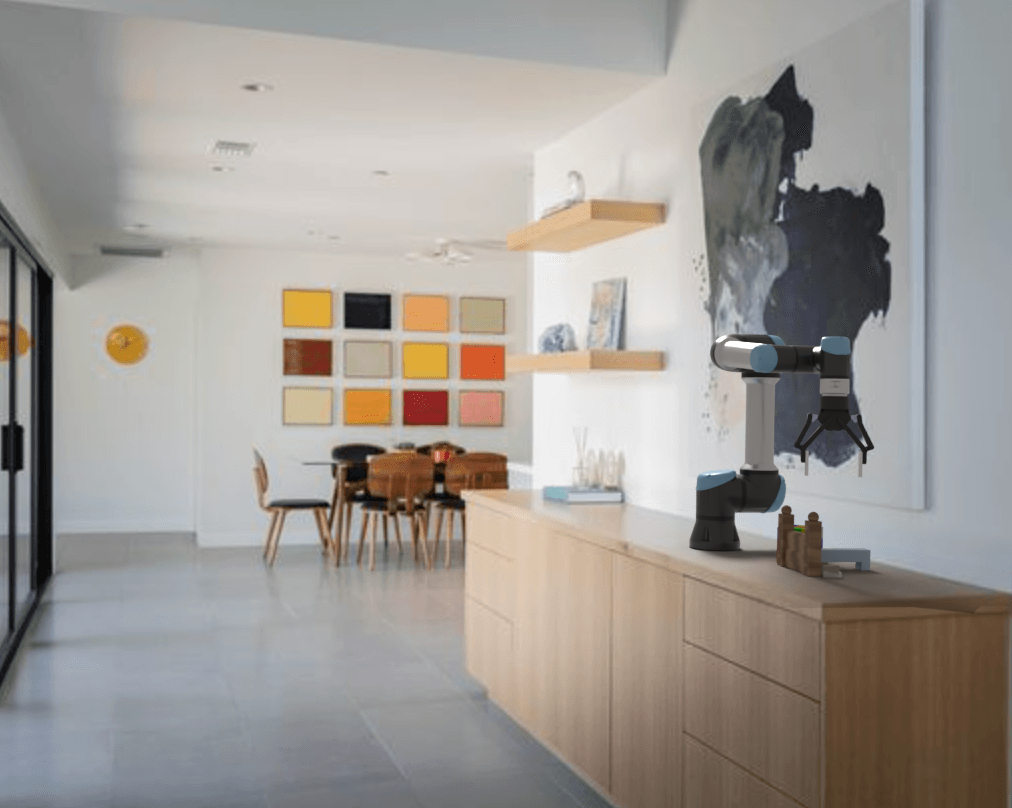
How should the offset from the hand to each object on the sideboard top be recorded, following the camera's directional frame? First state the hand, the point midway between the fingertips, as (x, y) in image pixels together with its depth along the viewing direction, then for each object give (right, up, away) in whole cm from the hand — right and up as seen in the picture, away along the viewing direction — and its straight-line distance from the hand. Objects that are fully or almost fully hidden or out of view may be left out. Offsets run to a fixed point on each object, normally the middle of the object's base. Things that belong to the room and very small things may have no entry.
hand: (833, 476), depth 306 cm
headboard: (-6, -25, +1) cm, 26 cm away
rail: (+3, -25, +5) cm, 26 cm away
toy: (-5, -25, +17) cm, 31 cm away
